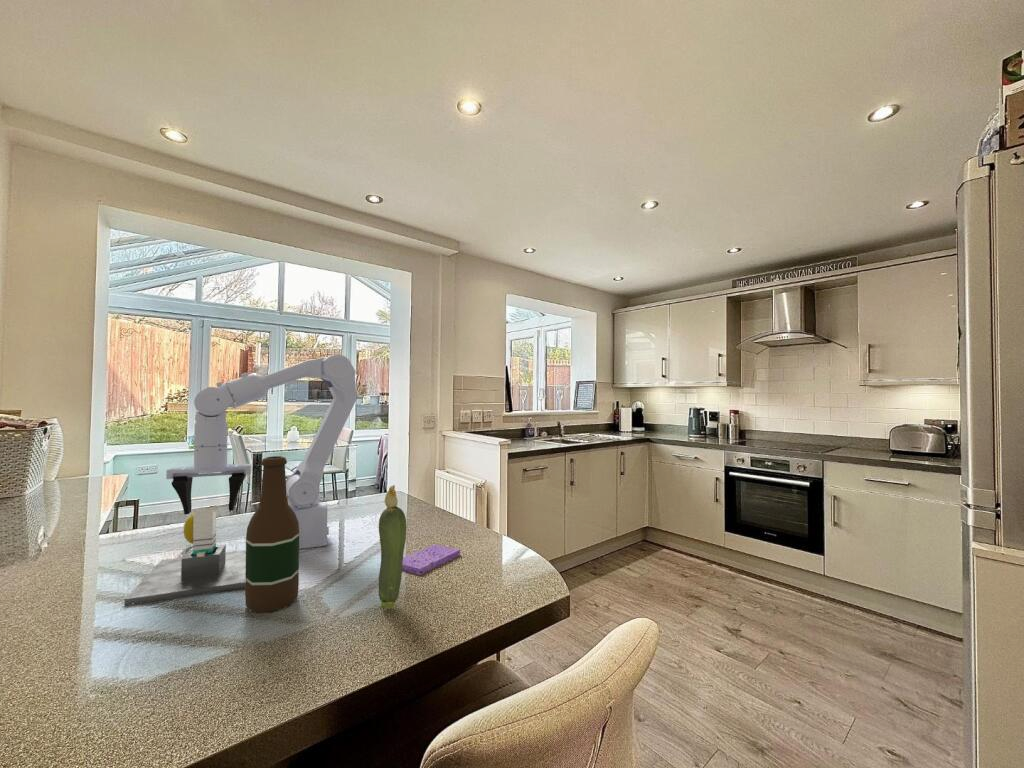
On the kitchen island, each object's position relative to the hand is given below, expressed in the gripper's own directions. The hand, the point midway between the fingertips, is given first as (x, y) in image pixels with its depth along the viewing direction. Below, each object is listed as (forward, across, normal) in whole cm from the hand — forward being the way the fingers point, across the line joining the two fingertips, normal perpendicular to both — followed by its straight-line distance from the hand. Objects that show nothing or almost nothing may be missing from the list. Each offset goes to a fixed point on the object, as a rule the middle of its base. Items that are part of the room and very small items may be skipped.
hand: (210, 511), depth 92 cm
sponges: (+11, +42, -18) cm, 47 cm away
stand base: (+10, +1, -9) cm, 13 cm away
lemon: (+10, -4, +10) cm, 15 cm away
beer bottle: (+10, +14, -26) cm, 31 cm away
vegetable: (+10, +32, -35) cm, 48 cm away
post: (+6, +1, -9) cm, 11 cm away
